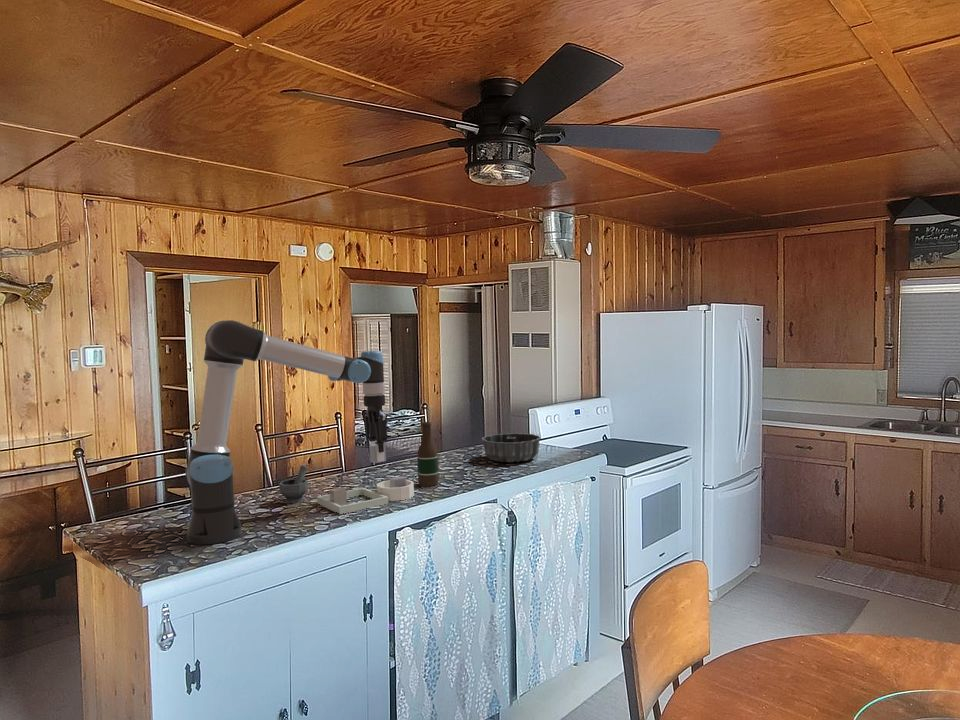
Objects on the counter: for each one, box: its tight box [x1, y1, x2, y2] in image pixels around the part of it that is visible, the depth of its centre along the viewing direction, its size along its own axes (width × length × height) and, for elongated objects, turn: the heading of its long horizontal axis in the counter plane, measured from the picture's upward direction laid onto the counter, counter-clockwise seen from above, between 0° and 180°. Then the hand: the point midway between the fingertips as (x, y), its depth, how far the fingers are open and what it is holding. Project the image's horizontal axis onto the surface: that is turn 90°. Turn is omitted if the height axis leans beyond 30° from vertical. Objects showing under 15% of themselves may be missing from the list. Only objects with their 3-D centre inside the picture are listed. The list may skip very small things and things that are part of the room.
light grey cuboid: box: [368, 443, 387, 464], centre depth 230 cm, size 4×3×6 cm
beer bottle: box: [416, 421, 439, 487], centre depth 249 cm, size 8×8×24 cm
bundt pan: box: [481, 432, 541, 463], centre depth 292 cm, size 26×26×10 cm
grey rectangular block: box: [389, 476, 407, 488], centre depth 232 cm, size 4×3×6 cm
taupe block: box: [329, 486, 348, 506], centre depth 222 cm, size 4×3×6 cm
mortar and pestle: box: [278, 464, 309, 504], centre depth 231 cm, size 11×9×12 cm
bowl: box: [376, 479, 415, 502], centre depth 233 cm, size 13×13×4 cm
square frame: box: [316, 487, 389, 515], centre depth 225 cm, size 18×18×2 cm
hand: (377, 460), depth 231 cm, fingers closed on light grey cuboid, 3 cm apart
